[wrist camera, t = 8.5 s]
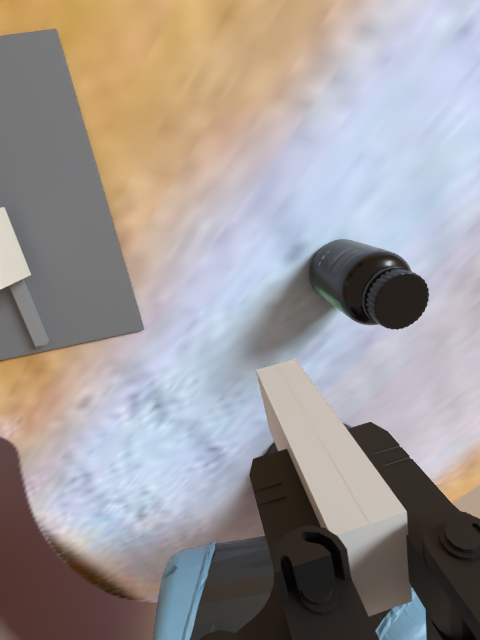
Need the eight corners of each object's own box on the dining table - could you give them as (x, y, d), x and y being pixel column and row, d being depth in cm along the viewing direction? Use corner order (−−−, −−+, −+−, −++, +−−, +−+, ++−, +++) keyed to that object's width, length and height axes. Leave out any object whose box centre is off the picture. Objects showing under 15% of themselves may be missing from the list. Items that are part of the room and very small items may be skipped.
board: (144, 328, 37) (142, 333, 36) (-33, 365, 36) (-41, 372, 34) (57, 30, 27) (51, 23, 26) (-192, 62, 26) (-212, 56, 24)
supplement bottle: (309, 303, 40) (360, 348, 28) (306, 243, 37) (362, 266, 26) (365, 294, 40) (437, 333, 29) (367, 234, 38) (445, 253, 27)
